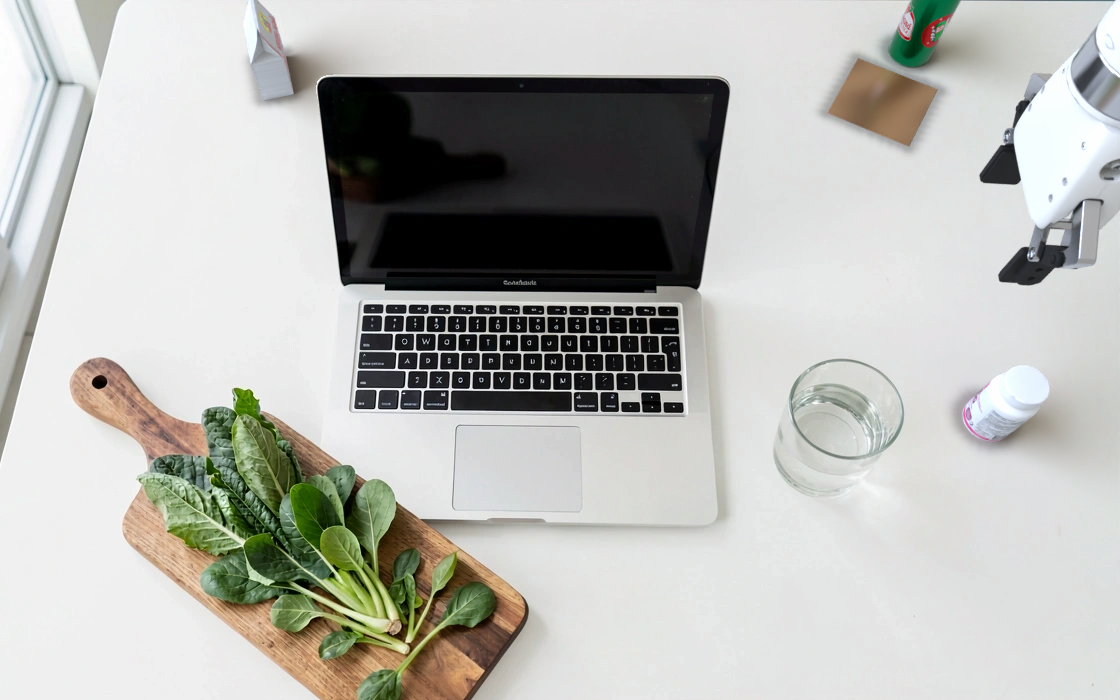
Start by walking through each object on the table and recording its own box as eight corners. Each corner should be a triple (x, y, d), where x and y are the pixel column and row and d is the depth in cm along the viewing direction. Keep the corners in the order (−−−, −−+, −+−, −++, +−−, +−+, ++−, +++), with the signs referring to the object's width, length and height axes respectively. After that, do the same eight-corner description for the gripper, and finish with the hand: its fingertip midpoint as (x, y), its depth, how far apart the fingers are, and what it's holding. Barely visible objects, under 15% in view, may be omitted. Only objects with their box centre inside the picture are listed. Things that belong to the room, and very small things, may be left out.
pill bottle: (966, 391, 91) (1007, 352, 83) (1014, 410, 90) (1060, 372, 82) (955, 430, 89) (995, 394, 81) (1003, 450, 88) (1049, 416, 80)
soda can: (887, 37, 112) (926, -47, 101) (928, 43, 111) (973, -41, 100) (885, 67, 110) (926, -16, 99) (928, 73, 109) (973, -9, 98)
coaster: (936, 91, 108) (937, 89, 108) (907, 148, 104) (909, 146, 104) (856, 60, 110) (858, 57, 110) (826, 115, 106) (827, 112, 106)
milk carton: (263, 102, 108) (241, 37, 99) (256, 61, 110) (233, -6, 101) (294, 96, 108) (274, 30, 99) (286, 55, 111) (265, -12, 102)
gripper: (1236, 183, 54) (1075, 325, 69) (1166, -22, 61) (1035, 147, 77) (1107, 176, 54) (975, 319, 69) (1053, -27, 61) (945, 142, 77)
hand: (1007, 229), depth 73 cm, fingers open, 9 cm apart
